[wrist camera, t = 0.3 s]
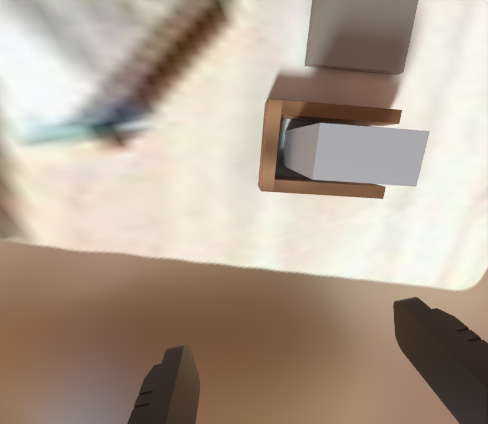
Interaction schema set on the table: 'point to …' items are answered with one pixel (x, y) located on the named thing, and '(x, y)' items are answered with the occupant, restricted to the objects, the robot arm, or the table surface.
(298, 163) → the block
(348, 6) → the pad
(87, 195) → the table surface
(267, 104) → the frame
